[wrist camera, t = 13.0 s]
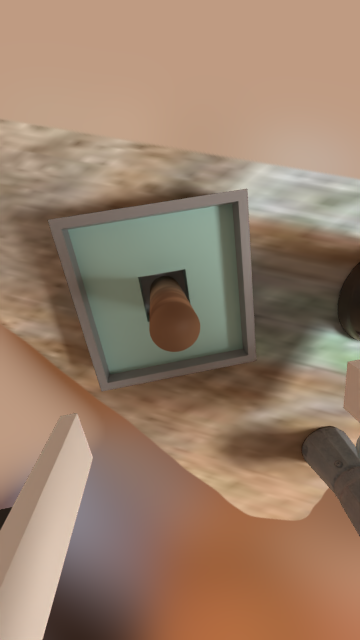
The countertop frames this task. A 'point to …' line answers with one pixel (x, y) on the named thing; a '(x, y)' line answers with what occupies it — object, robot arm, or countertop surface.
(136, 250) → the bore box
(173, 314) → the walnut peg
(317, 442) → the moka pot
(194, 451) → the countertop surface
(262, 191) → the countertop surface
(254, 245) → the countertop surface
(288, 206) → the countertop surface
